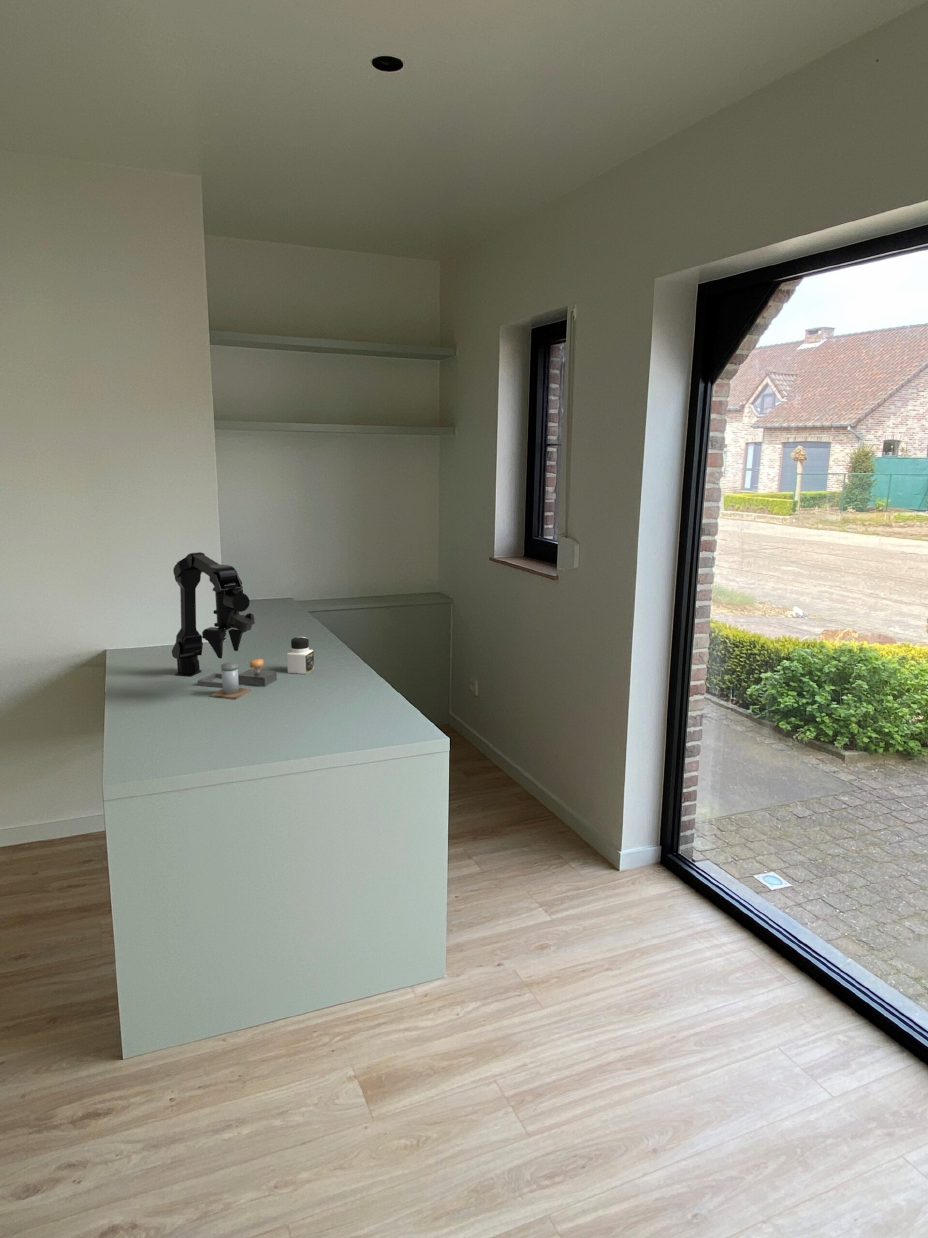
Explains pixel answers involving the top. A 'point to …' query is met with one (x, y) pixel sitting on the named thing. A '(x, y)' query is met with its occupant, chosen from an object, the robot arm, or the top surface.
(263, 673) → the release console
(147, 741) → the top surface
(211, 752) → the top surface
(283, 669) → the top surface
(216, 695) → the walnut pad
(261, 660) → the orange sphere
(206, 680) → the collar
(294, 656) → the medicine bottle
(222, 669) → the cylinder
